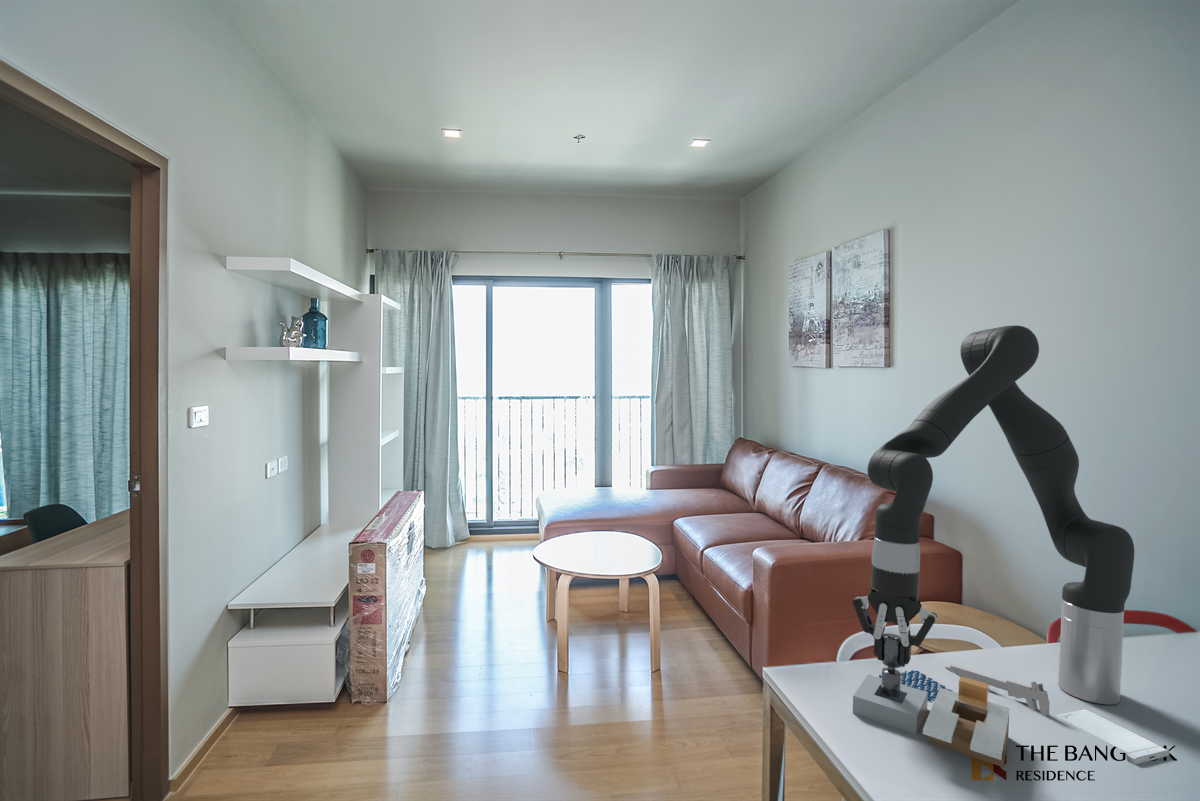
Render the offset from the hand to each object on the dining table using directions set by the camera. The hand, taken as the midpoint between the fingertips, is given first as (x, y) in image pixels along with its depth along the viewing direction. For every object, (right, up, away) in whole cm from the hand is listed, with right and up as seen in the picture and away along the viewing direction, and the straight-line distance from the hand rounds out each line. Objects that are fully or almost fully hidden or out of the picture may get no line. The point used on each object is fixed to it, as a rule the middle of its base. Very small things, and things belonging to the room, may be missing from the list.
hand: (891, 661), depth 105 cm
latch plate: (+7, -5, -10) cm, 14 cm away
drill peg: (0, -6, 0) cm, 6 cm away
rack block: (0, -10, 0) cm, 10 cm away
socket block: (+9, -10, -8) cm, 16 cm away
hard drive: (+34, -11, -5) cm, 36 cm away
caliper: (+24, -11, +10) cm, 28 cm away
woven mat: (+9, -11, +9) cm, 17 cm away
